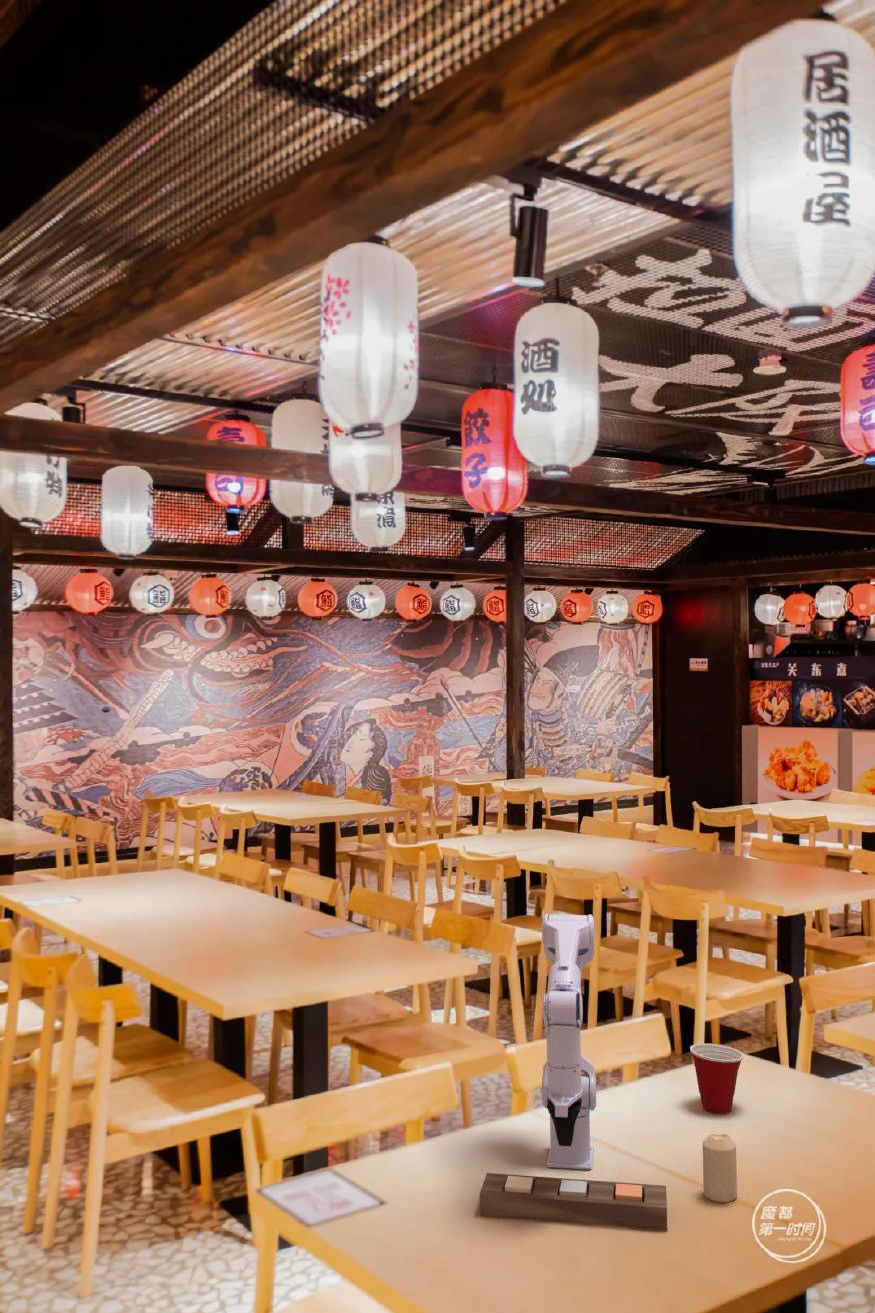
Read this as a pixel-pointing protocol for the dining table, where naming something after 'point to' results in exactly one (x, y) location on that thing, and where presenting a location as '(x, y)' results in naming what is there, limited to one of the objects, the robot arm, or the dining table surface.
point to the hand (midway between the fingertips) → (565, 1144)
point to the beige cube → (519, 1184)
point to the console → (574, 1203)
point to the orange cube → (628, 1192)
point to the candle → (719, 1168)
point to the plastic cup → (716, 1075)
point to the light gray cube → (573, 1188)
